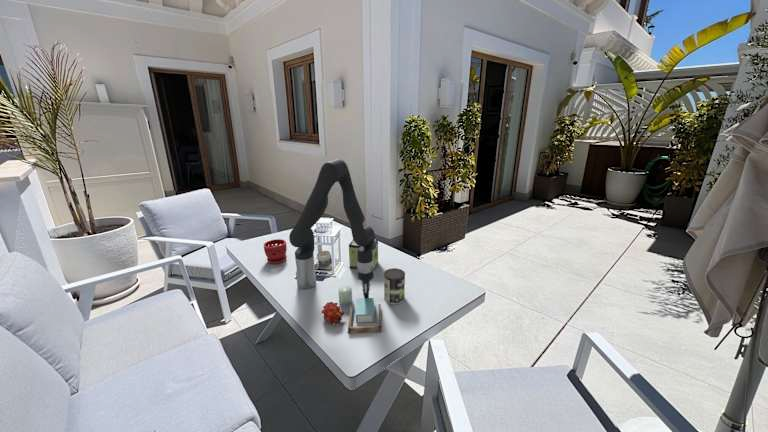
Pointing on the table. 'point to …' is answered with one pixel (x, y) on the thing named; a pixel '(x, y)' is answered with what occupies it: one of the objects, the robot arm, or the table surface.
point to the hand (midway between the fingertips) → (366, 299)
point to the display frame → (364, 328)
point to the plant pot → (275, 251)
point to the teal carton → (365, 310)
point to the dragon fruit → (332, 312)
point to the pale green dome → (345, 295)
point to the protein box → (353, 254)
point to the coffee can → (394, 286)
